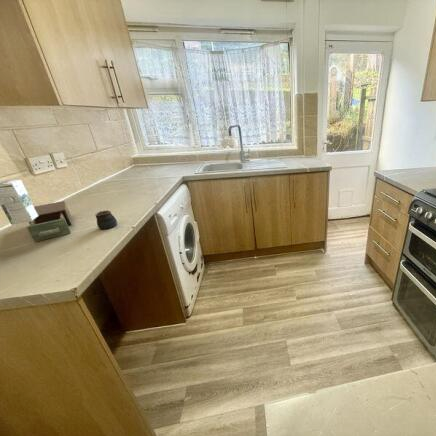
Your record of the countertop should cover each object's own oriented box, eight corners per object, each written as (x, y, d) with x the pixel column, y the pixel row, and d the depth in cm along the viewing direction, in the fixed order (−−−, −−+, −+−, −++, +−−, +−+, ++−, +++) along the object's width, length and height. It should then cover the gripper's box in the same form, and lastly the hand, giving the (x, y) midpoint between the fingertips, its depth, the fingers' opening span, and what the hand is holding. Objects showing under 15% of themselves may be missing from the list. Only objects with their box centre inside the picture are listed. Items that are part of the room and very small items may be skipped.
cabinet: (72, 226, 114) (65, 209, 110) (35, 235, 106) (26, 217, 103) (71, 216, 125) (64, 200, 122) (37, 223, 118) (29, 207, 114)
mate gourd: (117, 223, 115) (109, 204, 111) (120, 228, 110) (112, 208, 106) (99, 228, 111) (90, 208, 107) (101, 234, 106) (91, 213, 102)
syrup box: (19, 219, 90) (-2, 181, 84) (40, 216, 93) (20, 179, 87) (11, 225, 86) (-12, 185, 80) (33, 221, 88) (12, 182, 82)
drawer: (71, 236, 102) (64, 221, 100) (33, 246, 96) (25, 230, 93) (69, 222, 116) (64, 209, 113) (36, 229, 109) (30, 216, 107)
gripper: (-14, 202, 90) (35, 197, 96) (-56, 223, 73) (7, 214, 79) (-23, 186, 88) (27, 181, 93) (-68, 203, 71) (-3, 196, 76)
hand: (18, 196), depth 86 cm, fingers closed on syrup box, 5 cm apart
